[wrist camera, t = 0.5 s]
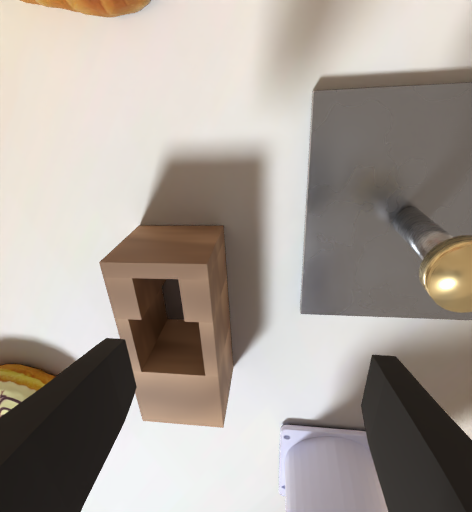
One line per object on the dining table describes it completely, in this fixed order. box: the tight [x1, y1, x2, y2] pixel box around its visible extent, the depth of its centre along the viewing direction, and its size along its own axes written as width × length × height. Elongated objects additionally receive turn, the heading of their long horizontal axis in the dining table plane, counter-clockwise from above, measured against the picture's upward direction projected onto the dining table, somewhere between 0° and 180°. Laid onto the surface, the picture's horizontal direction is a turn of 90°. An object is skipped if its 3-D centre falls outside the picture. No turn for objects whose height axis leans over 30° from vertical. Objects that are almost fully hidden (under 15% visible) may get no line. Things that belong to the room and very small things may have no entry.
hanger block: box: [99, 225, 233, 427], centre depth 18 cm, size 11×5×5 cm, turn 3°
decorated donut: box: [0, 364, 56, 417], centre depth 26 cm, size 10×11×4 cm
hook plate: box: [300, 82, 472, 320], centre depth 13 cm, size 12×10×6 cm
